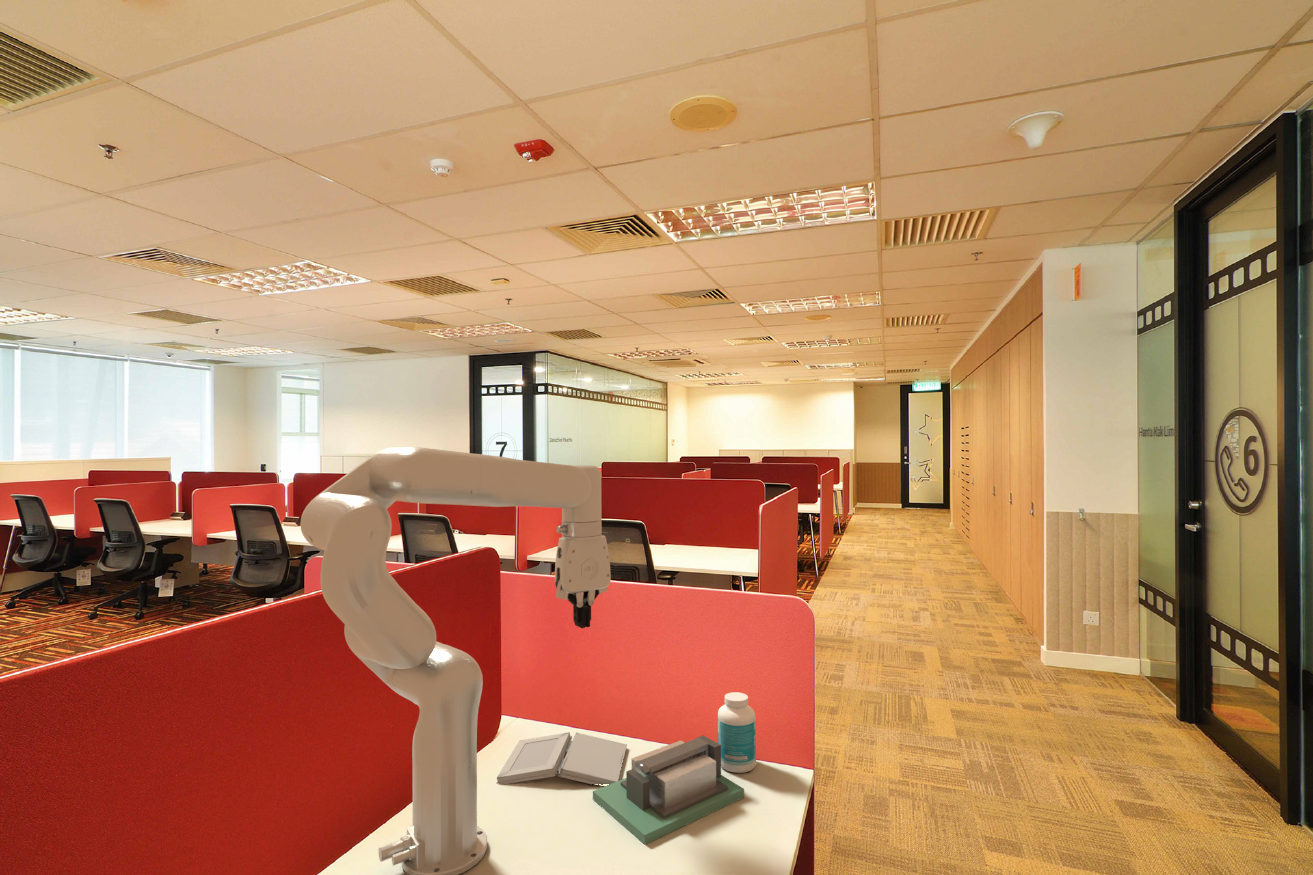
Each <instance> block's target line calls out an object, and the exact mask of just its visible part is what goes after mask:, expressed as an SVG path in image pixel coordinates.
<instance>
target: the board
mask: <svg viewBox="0 0 1313 875" xmlns="http://www.w3.org/2000/svg"><path fill="white" fill-rule="evenodd" d="M696 738H700V739H702V740H703V741H705V742H707V743H709V757H708V756H707V755H705V754H703V753H702V752H700V753H698V754H695V755H693V756H691V757H688V758H686V759H683V760H681V761H679V762H676V763H674V764H671V765H669V766H666V767H664V768H662V769H659V770H657V771H654V772H652V773H650V774H649V775H646V774H645V773H643V772H642V771H640V770H639V769H638V768H636V767H635V763H636V761H638V760H639V761H640V760H643V759H645V758H648V757H650V756H653V755H655V754H658V753H660V752H663V751H665V750H668V749H671V748H673V747H676V746H678V745H681V744H683V743H686V742H684V741H683V740H682V739H681V740H678V741H676V742H673V743H670V744H667V745H665V746H662V747H660V748H656V749H654V750H651V751H649V752H646V753H643V754H641V755H640V754H639V755H638V756H634V757H631V762H630V763H631V769H629V770H627V771H626V773H625V774H626V777H625V778H622V779H620V780H618V781H617V782H615V783H612V784H609V785H607V786H604V787H599V788H597V789H594V790H592V800H593V799H594V800H595V801H596V802H597V805H599V806H600V805H601V806H600V807H601V808H602V807H603V808H604V809H605V810H604V809H603V808H602V809H603V810H604V811H605V812H607V813H608V814H609V815H610V816H611V817H612V818H613V819H614V820H616V821H617V822H618V823H619V824H620V825H621V826H623V827H624V828H625V829H626V830H627V831H628V832H630V833H631V834H632V835H633V837H635V838H636V839H638V840H639V841H640V842H641V843H642V844H643V845H646V844H649V843H651V842H653V841H655V840H657V839H659V838H662V837H664V836H666V835H668V834H670V833H673V832H675V831H676V830H679V829H680V828H683V827H685V826H687V825H689V824H691V823H693V822H695V821H697V820H699V819H701V818H703V817H705V816H708V815H710V814H712V813H715V812H717V811H718V810H720V809H722V808H724V807H727V806H728V805H731V804H732V803H735V802H737V801H740V800H742V799H744V798H745V788H744V787H742V786H740V785H739V784H737V783H735V782H734V781H732V780H730V779H729V778H727V777H725V776H724V775H722V767H721V745H720V744H718V742H717V741H715V740H712V739H711V738H709V737H707V736H706V735H705V734H704V735H700V736H697V737H696ZM594 800H593V801H594ZM595 801H594V802H595ZM596 802H595V803H596Z"/></svg>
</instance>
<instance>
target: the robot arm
mask: <svg viewBox="0 0 1313 875" xmlns="http://www.w3.org/2000/svg"><path fill="white" fill-rule="evenodd" d="M395 502H403V503H414V504H427V505H428V504H430V505H452V506H453V505H454V506H455V505H456V506H460V505H461V506H474V507H476V506H477V507H491V508H492V507H493V508H503V507H535V508H536V507H539V508H553V509H554V508H556V509H561V521H560V523H561V524H560V525H557V526H556V527H555V528H556V529H555V531H556V533H557V534H561V537H559V538H558V542H557V548H556V553H555V554H556V555H555V564H554V566H555V567H554V585H555V586H554V587H555V588H556V591H555V597H556V598H557V599H559V600H566V601H568V602H569V603H570V604H571V605H572V607H573V609H572V610H573V611H572V612H573V615H572V616H573V620H572V621H573V623H574V626H576V627H577V628H580V629H585V628H589V627H591V620H592V606H594V603H595V600H596V598H597V597H598V596H599V595H601V594H603V593H605V592H607V591H608V587H609V586H610V584H611V580H612V579H611V574H612V573H611V563H610V562H611V560H610V552H609V547H608V543H607V538H606V535H604V534H603V535H602V532H603V531H602V528H603V527H602V471H601V469H600V468H599V467H598V466H596V465H571V464H570V465H569V464H560V463H551V462H544V461H543V462H541V461H535V460H534V461H533V460H524V459H516V458H510V457H504V456H497V455H491V454H482V453H472V452H471V453H470V452H463V451H455V450H454V451H453V450H447V449H437V448H429V447H417V446H406V447H404V446H403V447H389V448H385V449H382V450H380V451H378V452H376V453H374V454H373V455H372V456H370V457H368V458H367V459H365V460H364V461H362V462H361V463H360V464H359V465H357V466H356V467H355V468H353V469H352V470H350V471H348V473H346V474H345V475H344V476H342V477H341V478H339V479H338V480H336V481H335V482H334V483H332V484H331V485H330V486H328V487H327V488H326V489H324V490H322V491H321V492H320V493H319V494H317V495H316V496H315V497H314V498H313V499H311V500H310V502H309V503H308V504H307V505H306V506H305V508H304V510H303V512H302V515H301V517H300V530H301V533H302V535H303V537H304V539H305V540H306V542H308V543H309V544H310V545H311V546H313V547H314V548H317V549H319V550H321V551H324V552H323V556H322V559H321V566H320V589H321V594H322V596H323V599H324V600H325V602H326V604H327V605H328V607H329V608H330V610H331V611H332V612H333V614H335V616H336V617H337V618H338V619H339V620H340V621H341V622H342V623H343V624H344V627H343V628H344V630H343V631H344V632H343V633H344V638H345V641H346V644H347V646H348V647H349V649H350V650H351V652H352V653H353V654H354V655H355V656H356V657H357V658H358V659H359V660H360V661H361V662H362V663H363V664H364V665H365V666H366V667H367V668H368V669H369V670H370V671H372V672H373V673H374V674H375V675H376V676H377V677H378V678H379V679H380V680H381V682H383V683H384V684H385V685H387V686H388V688H390V689H391V690H392V691H394V693H396V694H398V695H399V696H401V697H403V698H405V699H406V700H408V701H410V702H412V703H413V704H415V705H417V706H418V708H419V713H418V719H417V722H416V725H415V728H414V732H413V737H412V745H411V746H412V750H411V751H412V756H411V757H412V825H410V826H408V827H406V835H403V836H401V837H400V840H397V841H394V842H390V843H388V844H385V845H381V846H379V847H378V859H379V861H380V863H382V862H384V861H387V860H389V859H391V862H392V863H391V864H392V866H396V865H399V864H401V867H402V870H403V871H404V872H405V873H406V874H407V875H461V874H462V873H466V871H468V870H470V869H472V868H473V867H475V865H477V864H478V863H479V862H480V861H481V860H482V859H483V857H484V856H485V855H486V852H487V849H488V835H487V833H486V832H485V831H484V830H483V828H481V827H480V826H478V777H477V776H478V768H477V767H478V748H477V747H478V744H477V743H478V742H477V741H478V740H477V738H478V736H477V735H478V734H477V733H478V717H479V716H478V714H479V708H480V703H481V697H482V692H483V684H484V683H483V682H484V681H483V672H482V670H481V667H480V666H479V663H478V662H477V661H476V659H475V658H474V657H472V656H471V655H470V654H469V653H467V652H465V651H463V650H461V649H458V648H456V647H453V646H451V645H449V644H444V643H442V642H439V641H437V631H436V628H435V625H434V623H433V621H432V619H431V618H430V617H429V615H428V614H427V613H426V612H425V611H424V610H423V609H422V608H421V607H420V606H419V605H418V604H417V603H416V602H415V601H414V600H413V599H412V598H411V597H410V595H408V593H407V592H406V591H405V590H404V589H403V588H402V586H400V585H399V584H398V581H396V579H395V578H394V577H393V576H392V575H391V573H390V572H389V570H388V567H387V562H386V560H387V558H386V557H387V549H388V546H389V543H390V539H391V536H392V528H393V525H392V523H393V522H392V517H391V516H390V513H389V510H388V509H389V508H390V507H391V506H392V505H394V503H395Z"/></svg>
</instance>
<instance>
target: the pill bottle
mask: <svg viewBox="0 0 1313 875" xmlns="http://www.w3.org/2000/svg"><path fill="white" fill-rule="evenodd" d="M748 704H749V696H748V694H746V693H743V692H738V691H737V692H733V691H732V692H727V693H726V694H725V695H724V704H723V705H722V706H720V707H719V709H718V711H717V735H718V736H717V743H718V744H720V745H721V769H724V770H725V771H728V772H730V773H736V774H742V773H747V772H751V771H752V770H753V769H754V768H756V764H757V744H756V743H757V740H756V739H757V738H756V737H757V736H756V735H757V734H756V732H757V731H756V713H755V710H754V708H752V707H751V706H750V705H748Z"/></svg>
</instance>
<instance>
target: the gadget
mask: <svg viewBox="0 0 1313 875" xmlns="http://www.w3.org/2000/svg"><path fill="white" fill-rule="evenodd" d="M627 746H628V744H626V743H623V742H618V741H615V740H610V739H605V738H602V737H597V736H593V735H588V734H584V733H579V732H575V734H574V736H573V737H572V735H571V733H570V731H569V732H564V733H563V732H562V733H558V734H557V733H556V734H551V735H545V736H540V737H533V738H528V739H527V738H526V739H522V740H519V741H518V742H517V744H516V746H515V747H514V749H513V750H512V752H511V754H510V755H509V757H508V758H507V760H506V762H505V764H503V767H502V768H501V770H500V772H499V773H498V774H497V777H496V784H502V785H503V784H504V785H509V784H516V783H521V782H528V781H533V780H541V779H545V778H551V777H556V776H557V777H560V778H563V779H568V780H573V781H577V782H580V783H584V784H589V785H592V784H598V785H599V784H601V785H603V784H612V783H615V782H617V781H620V780H619V779H620V775H621V772H620V771H622V768H623V764H622V763H623V762H624V760H623V759H625V755H626V750H627ZM621 767H622V768H621Z"/></svg>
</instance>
